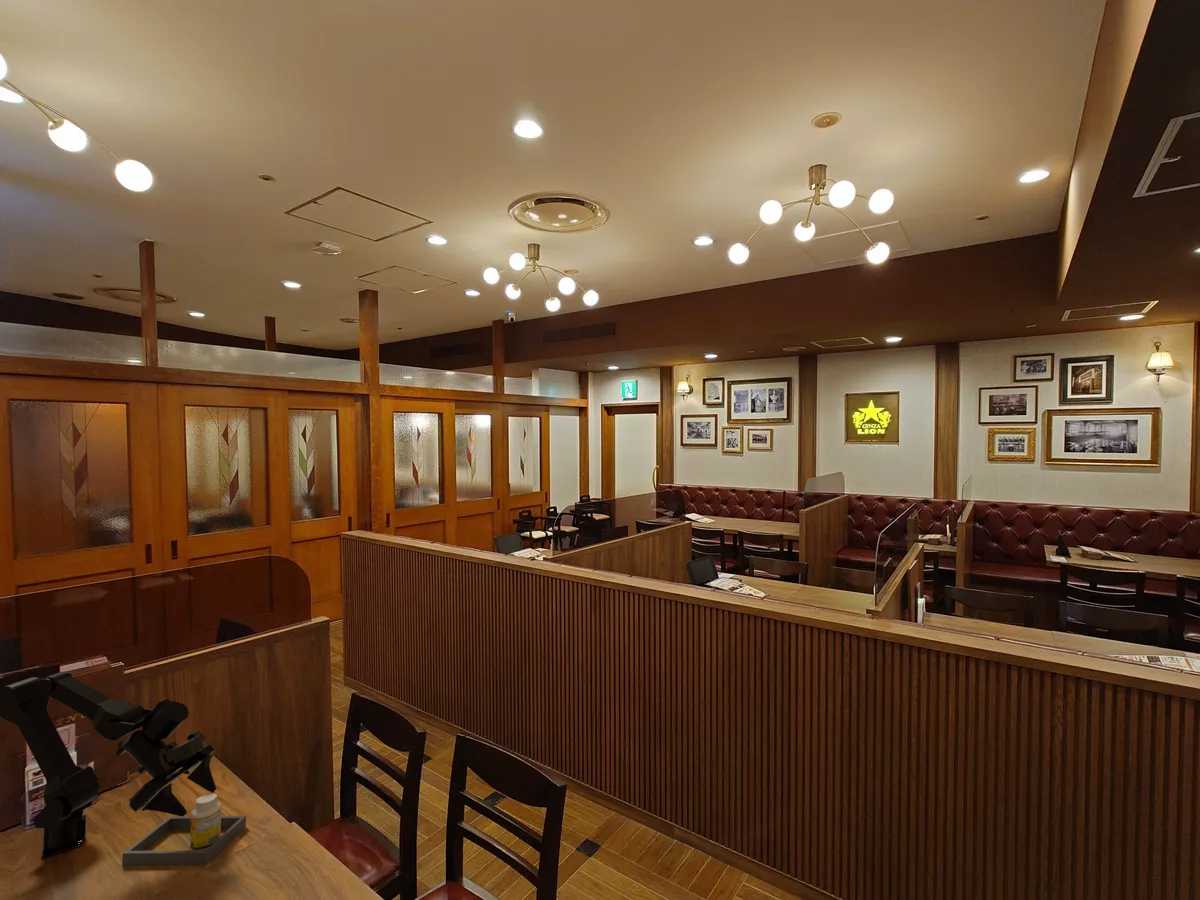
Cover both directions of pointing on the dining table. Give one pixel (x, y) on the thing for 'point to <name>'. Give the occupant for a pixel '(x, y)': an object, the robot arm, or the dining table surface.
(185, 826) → the gray open frame
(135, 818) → the dining table surface
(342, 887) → the dining table surface
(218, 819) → the supplement bottle
